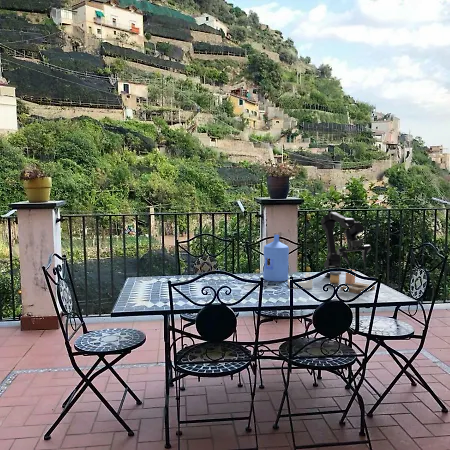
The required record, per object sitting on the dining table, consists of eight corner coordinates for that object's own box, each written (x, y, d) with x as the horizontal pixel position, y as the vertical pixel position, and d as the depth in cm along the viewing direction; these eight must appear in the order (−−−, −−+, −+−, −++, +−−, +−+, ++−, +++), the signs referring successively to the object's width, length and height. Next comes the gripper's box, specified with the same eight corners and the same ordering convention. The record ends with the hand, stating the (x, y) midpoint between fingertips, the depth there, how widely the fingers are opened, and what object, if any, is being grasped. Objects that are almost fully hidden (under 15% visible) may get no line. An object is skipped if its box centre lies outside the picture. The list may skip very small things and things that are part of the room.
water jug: (285, 276, 278) (286, 233, 275) (290, 282, 262) (291, 236, 260) (261, 276, 277) (262, 233, 274) (265, 282, 261) (266, 236, 259)
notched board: (340, 289, 243) (340, 286, 243) (356, 285, 254) (356, 282, 254) (358, 293, 235) (358, 290, 234) (374, 289, 246) (374, 285, 246)
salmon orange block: (345, 283, 261) (345, 270, 260) (348, 282, 263) (349, 269, 263) (351, 284, 258) (351, 271, 257) (354, 283, 260) (355, 270, 260)
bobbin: (326, 284, 255) (326, 271, 254) (332, 283, 260) (333, 270, 259) (336, 287, 250) (336, 273, 249) (342, 285, 255) (343, 272, 254)
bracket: (309, 285, 254) (309, 273, 253) (312, 288, 247) (312, 275, 246) (287, 285, 254) (287, 272, 253) (289, 288, 247) (290, 275, 246)
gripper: (338, 235, 247) (344, 261, 242) (371, 232, 247) (377, 258, 242) (334, 241, 258) (339, 266, 252) (365, 238, 258) (371, 263, 252)
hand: (356, 263), depth 249 cm, fingers open, 9 cm apart
